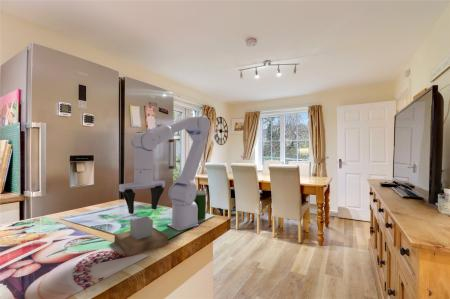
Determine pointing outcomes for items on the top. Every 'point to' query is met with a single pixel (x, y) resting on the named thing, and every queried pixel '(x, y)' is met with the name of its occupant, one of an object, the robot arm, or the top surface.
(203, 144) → the robot arm
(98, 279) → the top surface
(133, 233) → the grey cube
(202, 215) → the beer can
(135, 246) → the walnut slab
